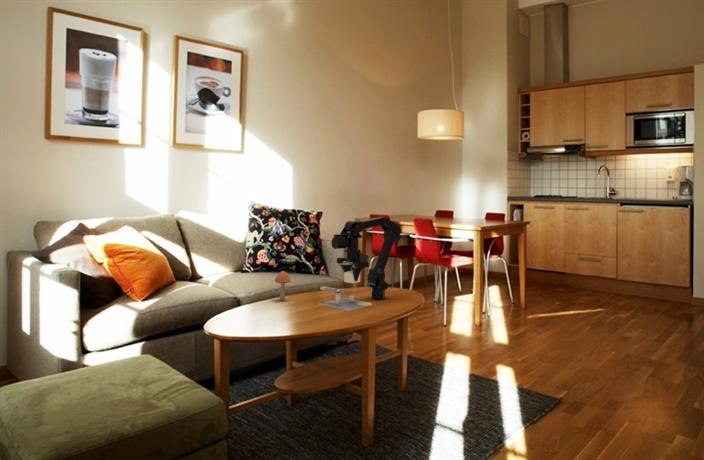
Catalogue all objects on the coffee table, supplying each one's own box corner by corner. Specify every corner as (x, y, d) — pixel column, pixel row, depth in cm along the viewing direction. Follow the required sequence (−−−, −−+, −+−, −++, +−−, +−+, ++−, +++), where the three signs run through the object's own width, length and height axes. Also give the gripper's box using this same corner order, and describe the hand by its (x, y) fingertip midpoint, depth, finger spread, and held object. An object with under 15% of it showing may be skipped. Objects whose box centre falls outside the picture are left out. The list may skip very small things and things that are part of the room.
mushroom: (288, 302, 247) (287, 272, 246) (272, 302, 249) (272, 271, 248) (293, 299, 255) (293, 269, 254) (278, 298, 257) (277, 269, 256)
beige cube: (352, 280, 247) (352, 270, 246) (360, 281, 243) (360, 271, 242) (344, 281, 243) (344, 271, 242) (352, 283, 239) (352, 272, 239)
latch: (343, 292, 237) (343, 289, 237) (338, 293, 234) (338, 290, 234) (324, 288, 245) (324, 286, 245) (319, 289, 242) (319, 287, 242)
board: (346, 300, 254) (346, 285, 254) (376, 306, 240) (376, 291, 240) (317, 306, 241) (317, 291, 240) (347, 313, 227) (347, 297, 226)
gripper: (378, 248, 239) (377, 281, 240) (354, 244, 254) (354, 275, 255) (359, 250, 232) (358, 283, 233) (336, 246, 247) (335, 278, 248)
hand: (352, 280), depth 243 cm, fingers closed on beige cube, 6 cm apart
